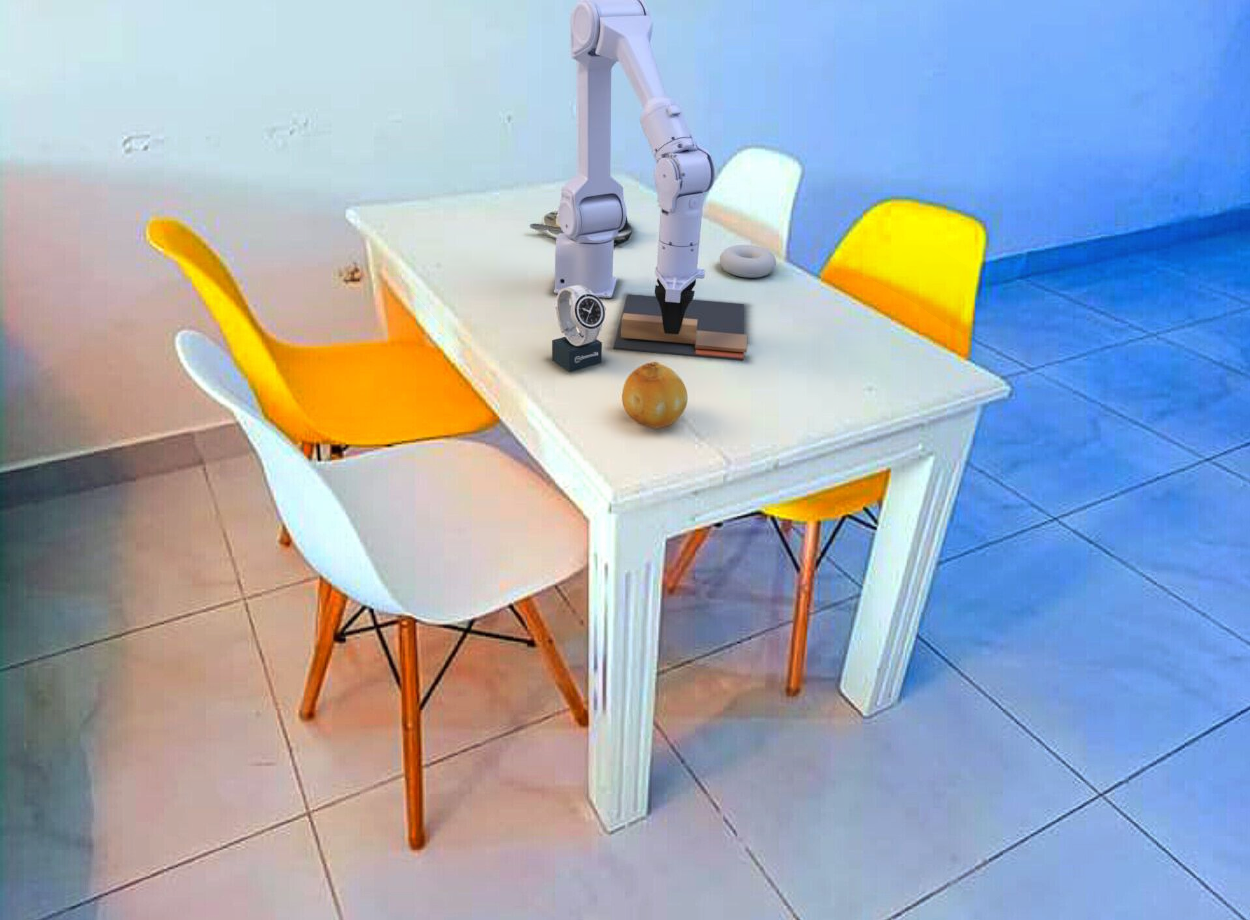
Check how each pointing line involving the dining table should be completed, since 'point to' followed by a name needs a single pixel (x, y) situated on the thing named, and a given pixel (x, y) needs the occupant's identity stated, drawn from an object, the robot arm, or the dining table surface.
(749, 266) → the donut
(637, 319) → the spatula
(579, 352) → the watch
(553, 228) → the salad plate
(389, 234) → the dining table surface
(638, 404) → the fruit
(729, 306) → the corner mat
